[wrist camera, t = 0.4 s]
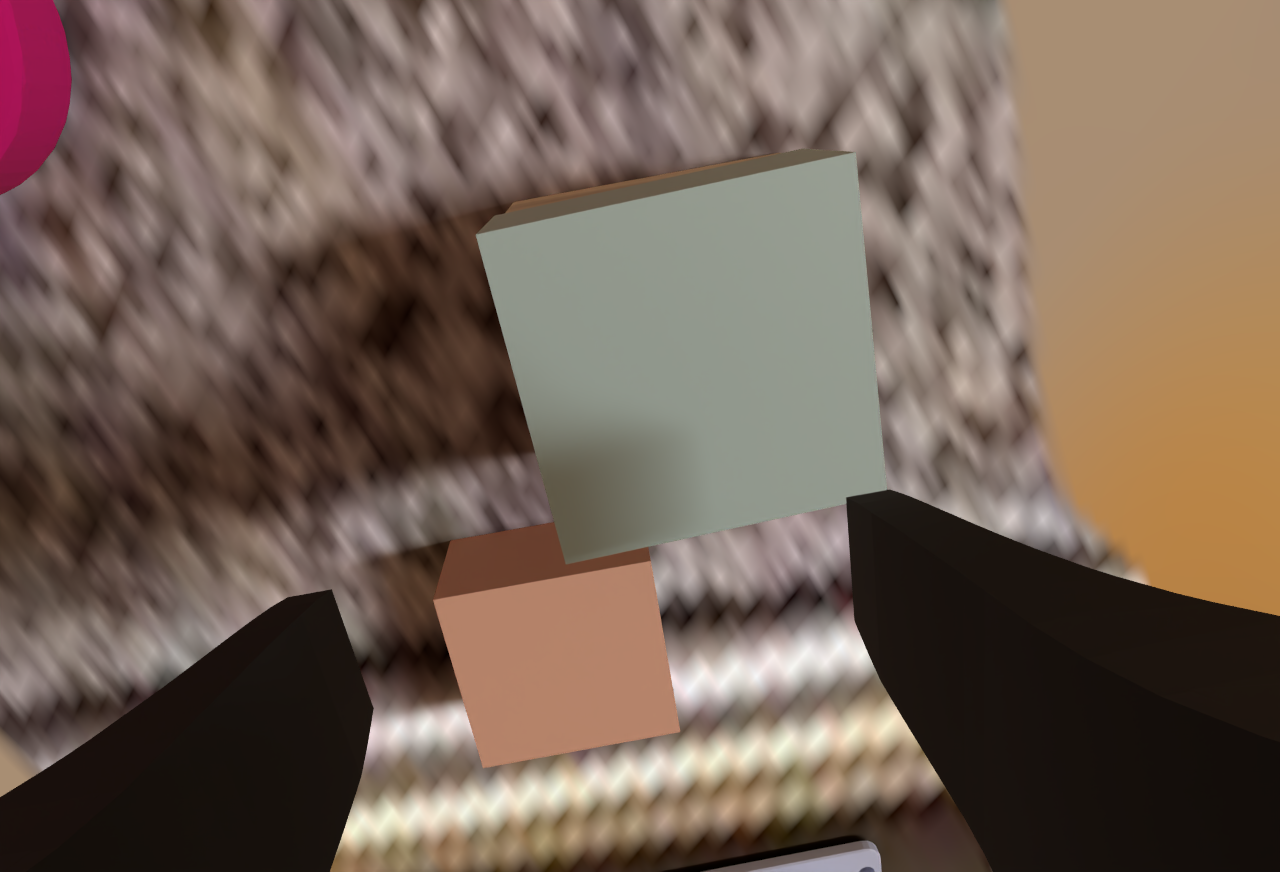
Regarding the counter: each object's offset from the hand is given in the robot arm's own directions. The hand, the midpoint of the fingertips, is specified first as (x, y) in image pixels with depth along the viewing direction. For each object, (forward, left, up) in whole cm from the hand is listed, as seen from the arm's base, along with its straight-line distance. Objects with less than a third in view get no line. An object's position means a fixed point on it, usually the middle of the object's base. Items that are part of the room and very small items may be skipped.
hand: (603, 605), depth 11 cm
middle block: (+2, -2, -6) cm, 7 cm away
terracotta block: (-6, +2, -9) cm, 11 cm away
